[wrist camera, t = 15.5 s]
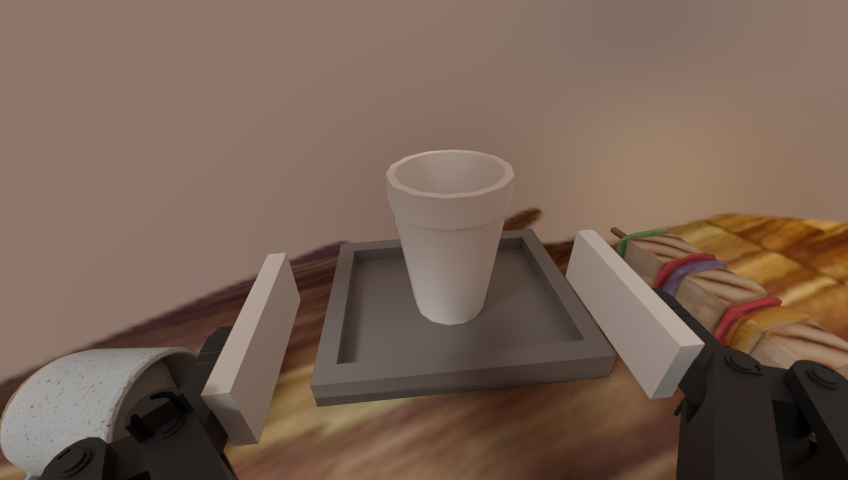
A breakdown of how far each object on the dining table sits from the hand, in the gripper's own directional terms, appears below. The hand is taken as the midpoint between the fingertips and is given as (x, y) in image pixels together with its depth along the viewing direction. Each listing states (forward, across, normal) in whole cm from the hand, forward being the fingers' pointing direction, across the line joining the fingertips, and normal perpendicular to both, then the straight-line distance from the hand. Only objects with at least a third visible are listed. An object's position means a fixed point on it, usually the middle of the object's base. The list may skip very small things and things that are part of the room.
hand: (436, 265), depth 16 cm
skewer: (+9, +25, -14) cm, 30 cm away
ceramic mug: (0, -20, -15) cm, 25 cm away
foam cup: (+11, +3, -13) cm, 18 cm away
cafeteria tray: (+11, +3, -14) cm, 18 cm away
